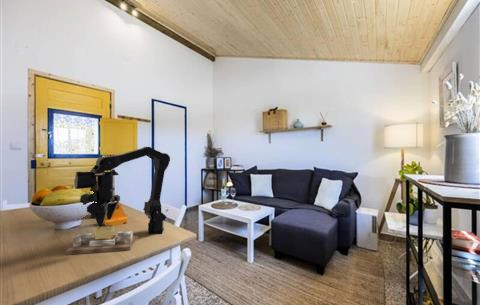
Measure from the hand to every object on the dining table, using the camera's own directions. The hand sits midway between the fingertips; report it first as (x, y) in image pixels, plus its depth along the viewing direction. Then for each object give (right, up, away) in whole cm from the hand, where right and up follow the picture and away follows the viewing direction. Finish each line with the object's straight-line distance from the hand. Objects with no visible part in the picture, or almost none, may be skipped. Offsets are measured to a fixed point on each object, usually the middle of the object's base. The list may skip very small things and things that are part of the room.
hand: (104, 222), depth 93 cm
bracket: (-11, -10, +28) cm, 31 cm away
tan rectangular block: (0, -8, 0) cm, 8 cm away
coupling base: (0, -10, 0) cm, 10 cm away
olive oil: (-28, -9, +41) cm, 50 cm away
